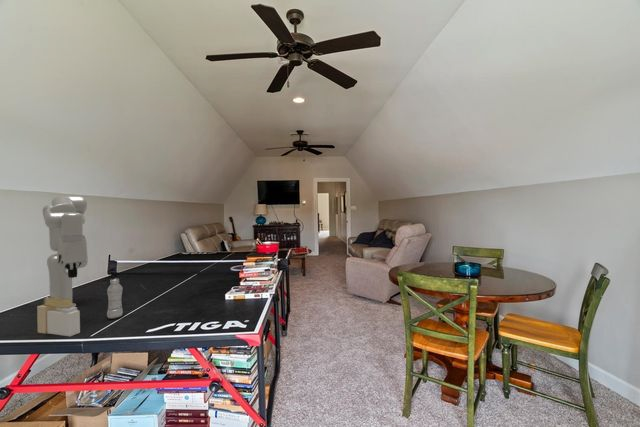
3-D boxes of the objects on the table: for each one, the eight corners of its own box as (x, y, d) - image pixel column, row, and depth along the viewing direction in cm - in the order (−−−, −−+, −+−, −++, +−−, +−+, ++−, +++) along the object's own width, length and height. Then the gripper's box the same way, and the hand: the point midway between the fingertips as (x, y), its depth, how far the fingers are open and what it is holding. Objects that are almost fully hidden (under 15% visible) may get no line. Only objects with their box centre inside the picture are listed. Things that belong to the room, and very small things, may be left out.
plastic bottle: (112, 315, 147) (111, 278, 147) (125, 315, 147) (125, 277, 147) (103, 320, 140) (103, 280, 140) (118, 319, 141) (117, 280, 141)
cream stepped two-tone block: (37, 332, 127) (37, 306, 127) (50, 328, 132) (50, 302, 132) (68, 336, 122) (68, 309, 122) (81, 332, 126) (80, 305, 126)
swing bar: (42, 304, 128) (42, 298, 128) (49, 303, 130) (49, 296, 130) (65, 307, 123) (65, 300, 123) (72, 305, 126) (72, 298, 126)
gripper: (83, 237, 141) (83, 273, 141) (47, 240, 126) (48, 280, 127) (94, 237, 139) (94, 274, 139) (59, 241, 124) (60, 281, 125)
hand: (72, 277), depth 133 cm, fingers closed
